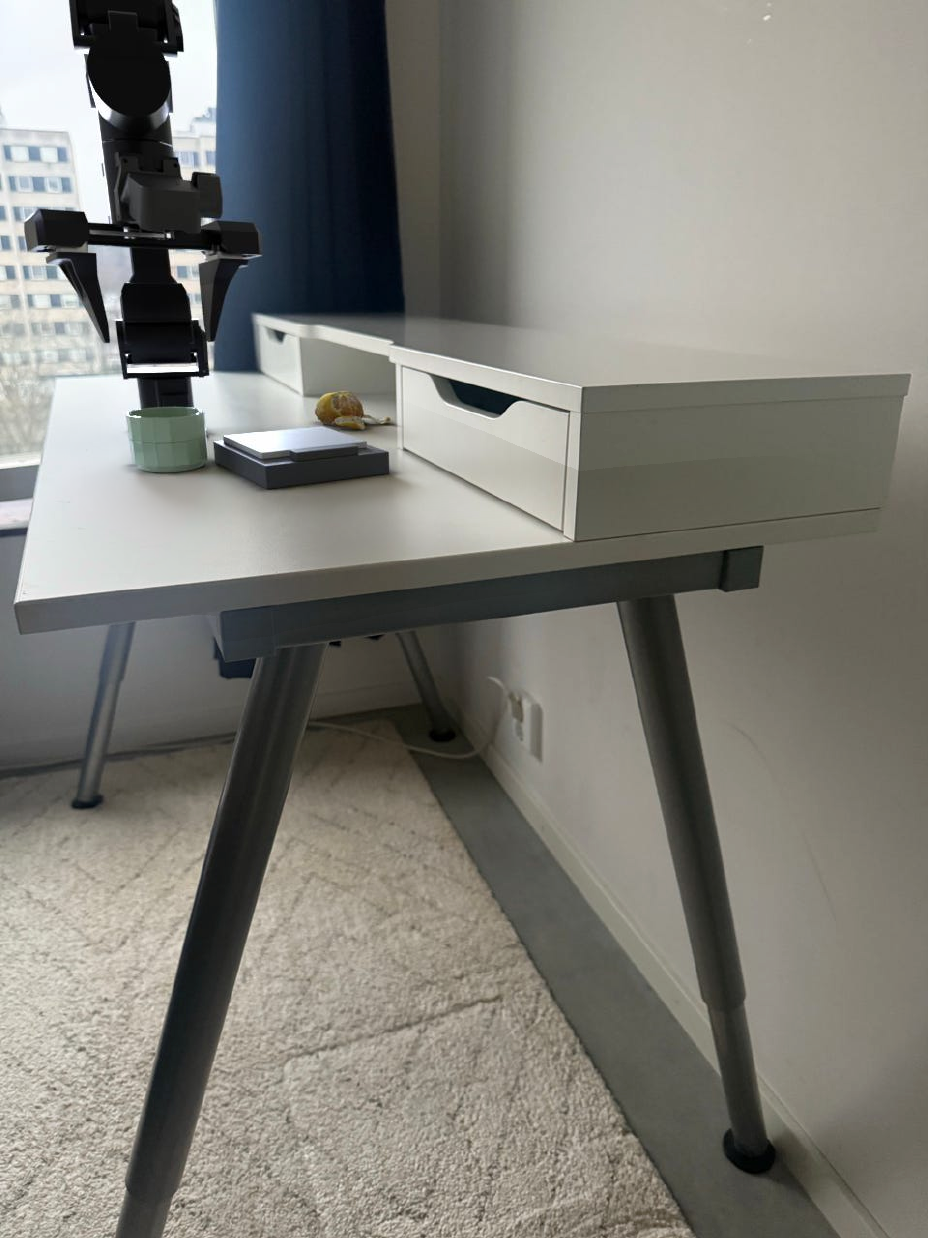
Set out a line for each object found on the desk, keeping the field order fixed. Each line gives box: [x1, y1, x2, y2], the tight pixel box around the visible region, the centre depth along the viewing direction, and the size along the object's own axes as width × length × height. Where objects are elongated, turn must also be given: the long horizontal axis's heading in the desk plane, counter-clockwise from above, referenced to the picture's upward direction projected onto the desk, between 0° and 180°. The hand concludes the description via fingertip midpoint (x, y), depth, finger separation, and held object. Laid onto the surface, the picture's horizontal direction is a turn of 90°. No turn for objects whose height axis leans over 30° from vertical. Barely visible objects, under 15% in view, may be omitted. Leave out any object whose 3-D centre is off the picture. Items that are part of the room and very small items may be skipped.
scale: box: [212, 425, 390, 490], centre depth 81 cm, size 13×12×3 cm
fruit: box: [314, 390, 392, 431], centre depth 104 cm, size 8×8×4 cm
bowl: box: [125, 407, 209, 473], centre depth 80 cm, size 7×7×5 cm
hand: (160, 342), depth 77 cm, fingers open, 9 cm apart
